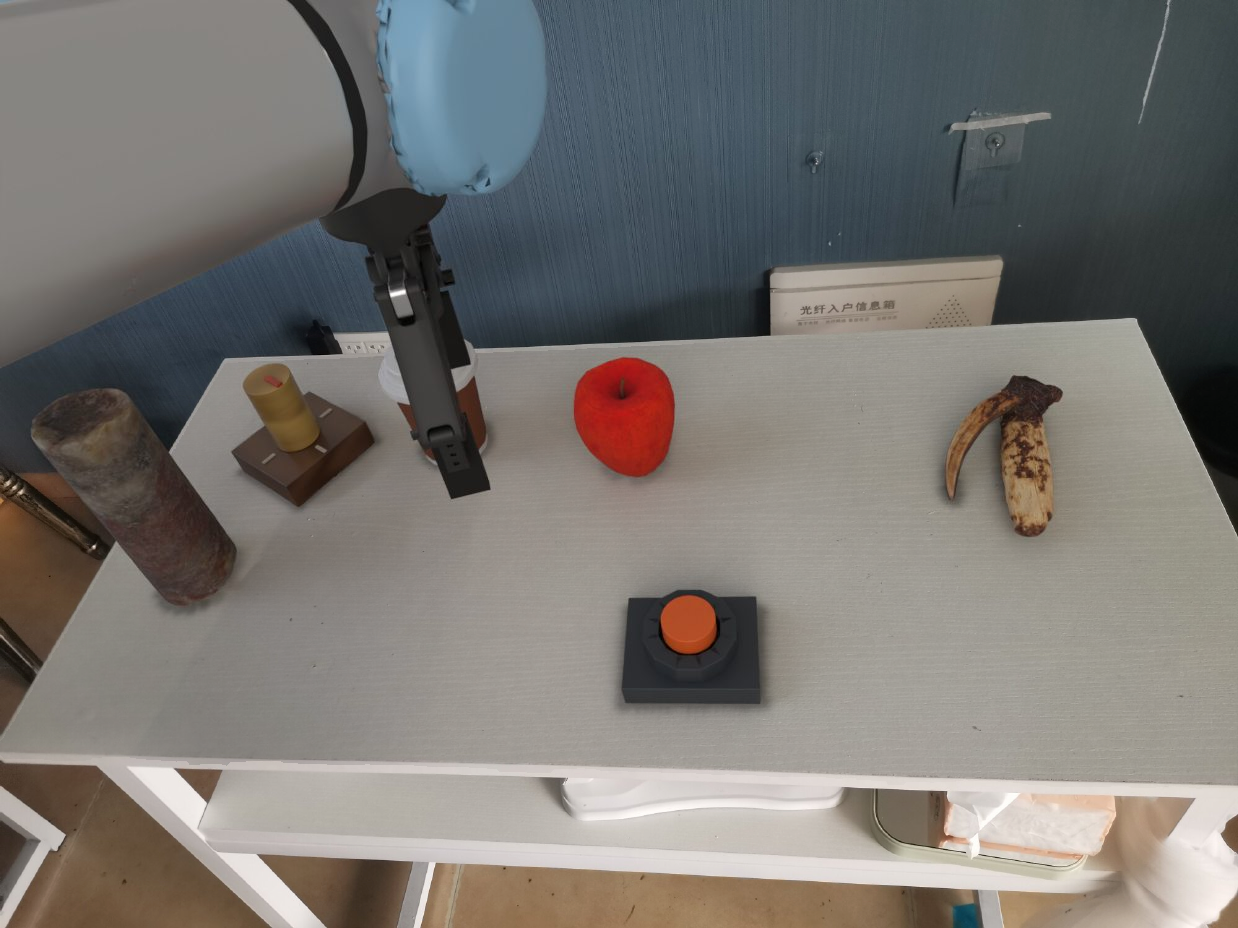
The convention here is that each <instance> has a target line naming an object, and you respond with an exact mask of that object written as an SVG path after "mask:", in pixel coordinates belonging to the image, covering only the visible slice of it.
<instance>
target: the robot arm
mask: <svg viewBox="0 0 1238 928" xmlns="http://www.w3.org/2000/svg"><path fill="white" fill-rule="evenodd" d="M546 47H547V46H546V39H545V35H544V29H543V25H542V21H541V20H540V17H539V13H538V11H537V8H536V6H535V4H534V2H533V0H0V369H3V368H4V367H7V366H8V365H11V364H13V363H15V362H17V361H19V360H21V359H23V358H25V357H28V356H30V355H32V354H34V353H36V352H38V351H41V350H43V349H45V348H47V347H49V346H51V345H53V344H55V343H57V342H60V341H61V340H64V339H66V338H68V337H70V336H72V335H74V334H77V333H79V332H81V331H83V330H85V329H87V328H89V327H92V326H94V325H97V324H98V323H100V322H102V321H104V320H107V319H108V318H111V317H113V316H115V315H117V314H119V313H121V312H124V311H126V310H128V309H130V308H132V307H134V306H137V305H139V304H140V303H143V302H145V301H146V300H149V299H151V298H153V297H155V296H158V295H160V294H162V293H164V292H166V291H168V290H170V289H173V288H174V287H177V286H179V285H181V284H183V283H186V282H188V281H190V280H192V279H194V278H197V277H198V276H200V275H202V274H205V273H207V272H208V271H211V270H213V269H216V268H217V267H219V266H222V265H224V264H226V263H228V262H230V261H233V260H234V259H236V258H239V257H240V256H243V255H245V254H247V253H250V252H251V251H253V250H255V249H258V248H260V247H262V246H264V245H266V244H269V243H270V242H273V241H275V240H277V239H279V238H282V237H283V236H285V235H288V234H290V233H292V232H294V231H296V230H299V229H301V228H302V227H304V226H307V225H310V224H311V223H313V222H315V221H317V220H318V222H319V224H320V226H321V227H322V228H323V230H324V231H325V232H326V233H328V235H330V236H331V237H333V238H336V239H338V240H339V241H344V242H347V243H356V244H360V245H363V246H365V247H366V249H367V252H368V254H369V255H366V256H364V263H365V266H366V270H367V275H368V278H369V280H370V282H371V283H373V284H374V285H373V287H372V288H373V294H372V295H373V298H374V299H373V300H374V301H375V302H376V303H377V305H378V309H379V311H380V313H381V316H382V319H383V321H384V324H385V327H386V331H387V333H388V337H389V340H390V345H391V344H392V347H393V350H394V353H395V357H396V360H397V363H398V367H399V370H400V373H401V377H402V380H403V383H404V387H405V390H406V393H407V396H408V400H409V403H410V406H411V410H412V413H413V416H414V420H415V423H416V426H417V430H413V431H412V430H410V431H409V433H410V437H411V440H412V441H418V439H419V442H420V444H419V445H422V447H421V449H422V448H423V449H424V450H428V449H431V450H432V453H433V455H434V458H435V460H436V463H437V465H436V466H437V467H438V471H439V473H440V475H441V478H442V481H443V483H444V485H445V488H446V490H447V492H448V495H449V498H450V500H455V499H459V498H463V497H468V496H471V495H475V494H480V493H483V492H487V491H488V492H489V491H491V490H492V489H491V482H490V479H489V477H488V476H489V475H488V474H487V470H486V467H485V464H484V462H483V459H482V456H481V455H482V454H481V455H480V453H479V450H478V447H477V444H476V441H475V438H474V435H473V432H472V429H471V426H470V423H469V421H468V418H467V415H466V412H464V413H462V411H461V407H460V403H459V399H458V395H457V391H456V387H455V384H454V380H453V376H452V372H451V369H455V368H459V367H463V366H467V365H471V361H470V357H469V354H468V350H467V347H466V344H465V341H464V339H465V338H464V335H463V332H462V329H461V326H460V322H459V320H458V316H457V312H456V309H455V306H454V304H453V301H452V297H451V294H450V291H449V290H448V289H447V290H443V291H441V289H442V288H446V287H451V286H456V280H455V279H456V278H455V275H454V271H453V268H447V269H442V270H441V267H442V256H441V253H439V251H438V249H437V247H436V245H435V241H434V237H433V233H432V229H431V224H430V222H431V221H432V220H433V219H434V218H436V217H437V216H438V215H439V214H440V212H441V211H442V210H443V208H444V207H445V204H446V202H447V198H448V195H455V196H469V197H481V196H486V195H490V194H494V193H496V192H498V191H500V190H501V189H503V188H505V187H506V186H508V185H509V184H510V183H511V182H512V181H514V179H516V177H517V176H518V175H519V174H520V173H521V171H522V170H523V168H524V167H525V166H526V164H527V163H528V162H529V160H530V158H531V157H532V154H533V152H534V151H535V148H536V146H537V143H538V140H539V138H540V134H541V133H542V132H541V131H542V128H543V125H544V120H545V115H546V110H547V105H548V94H549V93H548V91H549V77H548V75H547V62H546V51H547V50H546ZM419 442H418V443H419ZM423 449H422V450H423Z"/></svg>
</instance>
